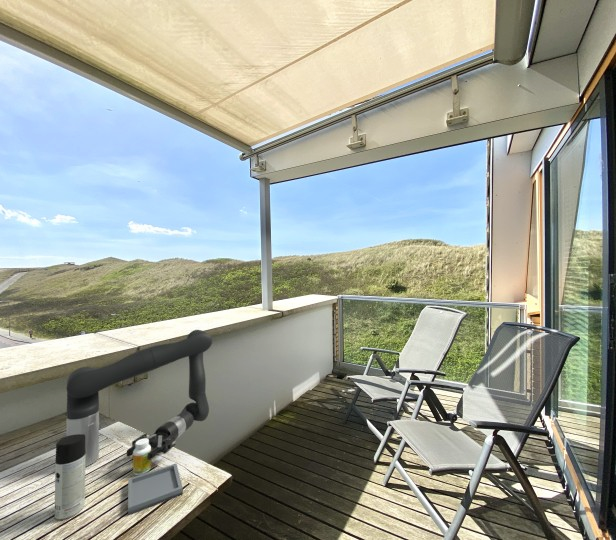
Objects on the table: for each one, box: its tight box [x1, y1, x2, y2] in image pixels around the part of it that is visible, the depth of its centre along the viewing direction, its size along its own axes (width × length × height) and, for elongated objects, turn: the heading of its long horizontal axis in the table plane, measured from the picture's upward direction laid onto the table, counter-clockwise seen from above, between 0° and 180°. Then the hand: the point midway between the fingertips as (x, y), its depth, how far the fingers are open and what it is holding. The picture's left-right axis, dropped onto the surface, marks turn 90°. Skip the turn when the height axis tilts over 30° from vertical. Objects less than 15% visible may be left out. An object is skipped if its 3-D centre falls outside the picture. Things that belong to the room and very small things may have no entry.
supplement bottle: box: [132, 438, 152, 476], centre depth 99 cm, size 5×5×10 cm
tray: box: [127, 463, 184, 516], centre depth 90 cm, size 14×14×2 cm
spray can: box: [53, 434, 86, 521], centre depth 82 cm, size 7×7×20 cm
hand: (137, 455), depth 97 cm, fingers open, 8 cm apart
